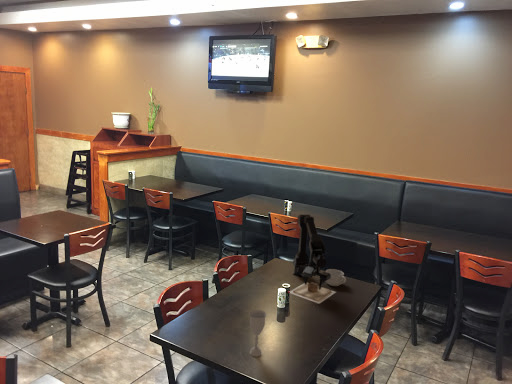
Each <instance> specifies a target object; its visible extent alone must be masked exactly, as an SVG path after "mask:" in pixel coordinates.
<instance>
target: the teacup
mask: <svg viewBox="0 0 512 384" xmlns="http://www.w3.org/2000/svg"><path fill="white" fill-rule="evenodd" d="M325 272H327V273H330V275H331V278H330V279H328V280H327V281H325V282H326V283H327V285H329V286H331V287H338V286H340V285H342V284H345V283H346V281H347V278H346V277H345V276H344V275H345V273H344V272H343V271H342V270H339V269H334V268H329V269H326V270H325Z"/></svg>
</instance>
